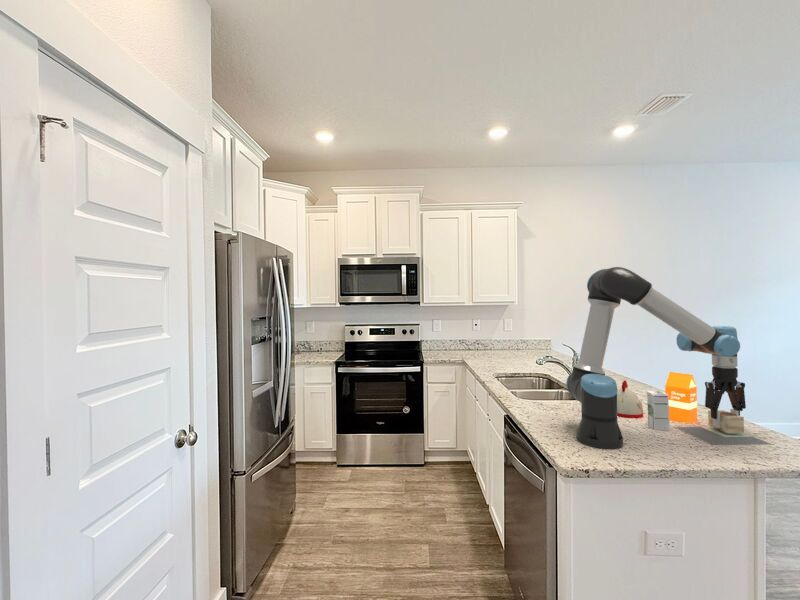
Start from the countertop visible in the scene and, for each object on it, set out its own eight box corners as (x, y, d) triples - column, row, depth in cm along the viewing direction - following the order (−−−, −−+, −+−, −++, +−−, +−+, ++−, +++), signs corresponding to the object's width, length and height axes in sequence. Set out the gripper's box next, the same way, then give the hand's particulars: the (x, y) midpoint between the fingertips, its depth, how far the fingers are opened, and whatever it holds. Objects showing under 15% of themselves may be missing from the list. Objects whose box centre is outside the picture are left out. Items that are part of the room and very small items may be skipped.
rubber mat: (712, 446, 134) (712, 444, 134) (673, 428, 153) (673, 426, 153) (772, 445, 134) (772, 443, 134) (726, 428, 153) (726, 426, 153)
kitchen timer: (604, 414, 173) (603, 381, 173) (611, 408, 183) (611, 376, 184) (640, 420, 164) (639, 385, 164) (645, 413, 174) (645, 380, 175)
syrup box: (670, 431, 149) (669, 394, 149) (653, 430, 151) (652, 393, 151) (663, 427, 155) (662, 391, 155) (647, 426, 156) (646, 390, 156)
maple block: (708, 425, 152) (708, 410, 152) (723, 425, 152) (723, 410, 152) (727, 433, 143) (727, 417, 143) (744, 433, 143) (743, 416, 143)
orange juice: (689, 424, 158) (688, 375, 158) (665, 419, 165) (664, 372, 165) (697, 421, 162) (696, 373, 162) (673, 416, 169) (672, 370, 170)
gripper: (707, 368, 144) (708, 430, 143) (758, 368, 143) (759, 430, 143) (692, 365, 151) (692, 424, 151) (741, 364, 151) (742, 423, 151)
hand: (725, 426), depth 147 cm, fingers open, 6 cm apart
